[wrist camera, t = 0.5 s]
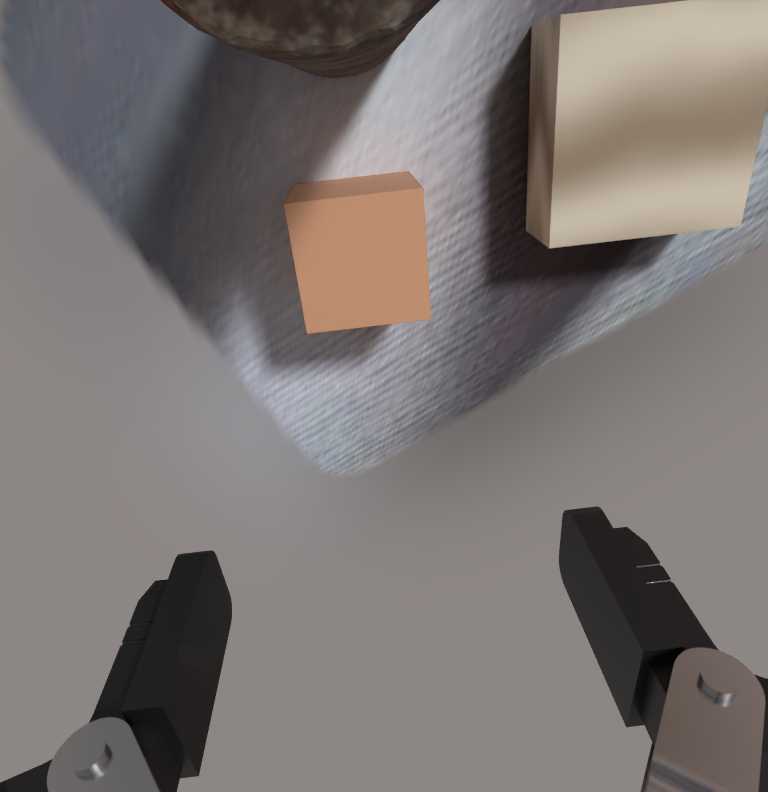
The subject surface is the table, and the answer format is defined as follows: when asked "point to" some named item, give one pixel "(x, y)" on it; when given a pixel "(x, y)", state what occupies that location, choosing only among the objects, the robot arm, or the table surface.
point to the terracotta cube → (360, 251)
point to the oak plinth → (644, 119)
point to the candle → (309, 29)
